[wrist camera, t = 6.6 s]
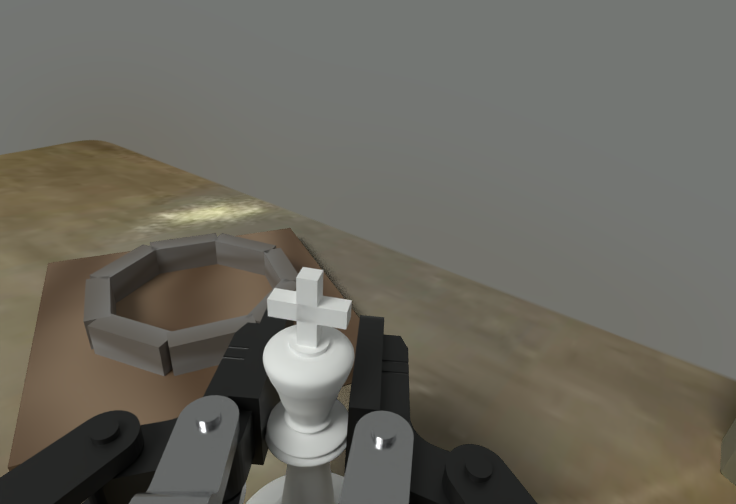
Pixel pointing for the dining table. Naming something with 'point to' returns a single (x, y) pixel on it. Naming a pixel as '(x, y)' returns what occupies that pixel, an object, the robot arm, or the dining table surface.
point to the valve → (729, 454)
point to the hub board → (154, 305)
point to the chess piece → (307, 392)
